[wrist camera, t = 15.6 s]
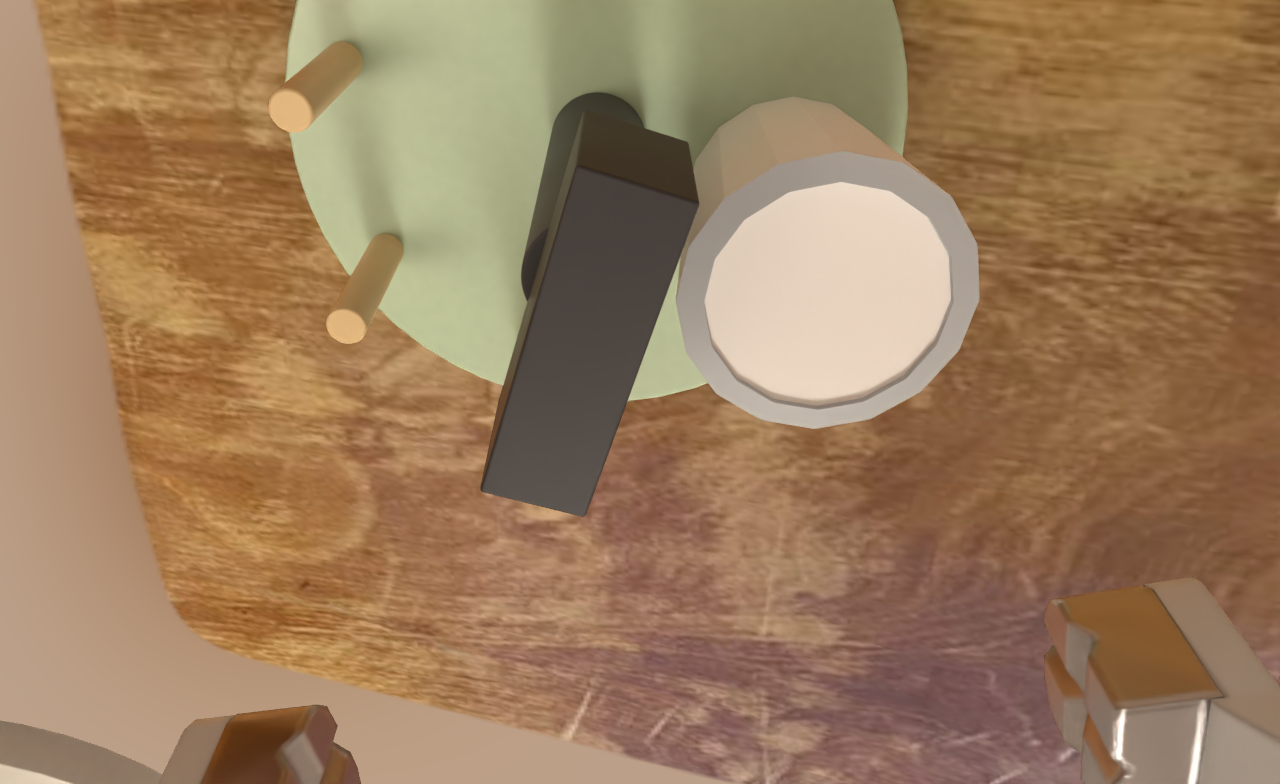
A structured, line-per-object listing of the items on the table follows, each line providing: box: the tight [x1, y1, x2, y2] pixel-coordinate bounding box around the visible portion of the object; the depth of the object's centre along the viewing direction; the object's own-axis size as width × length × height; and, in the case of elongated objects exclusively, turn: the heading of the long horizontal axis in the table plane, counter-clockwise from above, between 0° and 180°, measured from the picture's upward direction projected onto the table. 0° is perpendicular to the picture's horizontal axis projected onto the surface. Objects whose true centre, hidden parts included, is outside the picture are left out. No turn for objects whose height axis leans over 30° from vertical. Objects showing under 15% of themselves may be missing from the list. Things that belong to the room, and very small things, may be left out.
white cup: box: [676, 96, 980, 429], centre depth 26 cm, size 7×7×7 cm
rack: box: [268, 0, 908, 517], centre depth 23 cm, size 17×17×13 cm
